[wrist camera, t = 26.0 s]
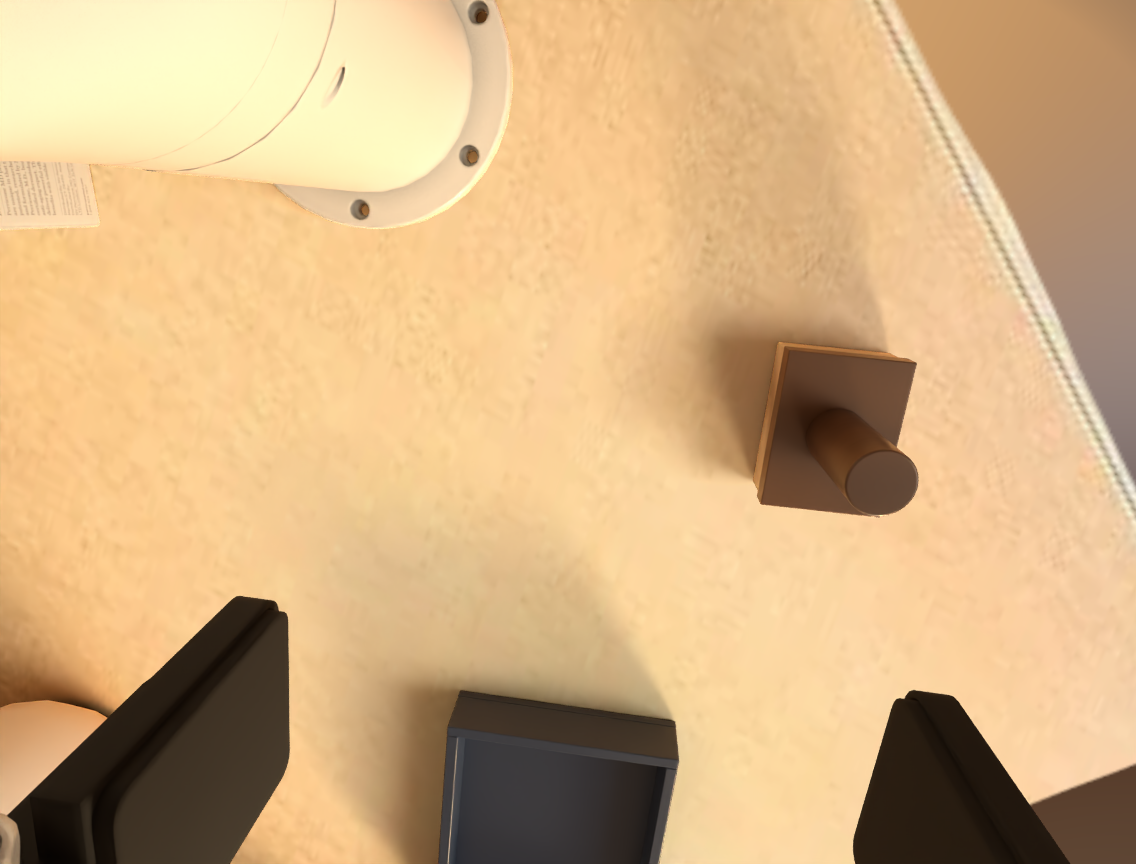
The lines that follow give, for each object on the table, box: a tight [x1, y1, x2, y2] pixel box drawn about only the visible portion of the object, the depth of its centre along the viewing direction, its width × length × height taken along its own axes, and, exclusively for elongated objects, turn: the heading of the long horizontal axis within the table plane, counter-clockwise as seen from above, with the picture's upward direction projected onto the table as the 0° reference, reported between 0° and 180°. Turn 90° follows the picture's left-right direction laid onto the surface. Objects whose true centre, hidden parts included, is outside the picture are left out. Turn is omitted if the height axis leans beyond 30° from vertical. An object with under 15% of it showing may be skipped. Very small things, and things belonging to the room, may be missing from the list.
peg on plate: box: [753, 342, 918, 518], centre depth 30 cm, size 7×5×9 cm
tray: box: [438, 691, 679, 864], centre depth 41 cm, size 16×12×3 cm
